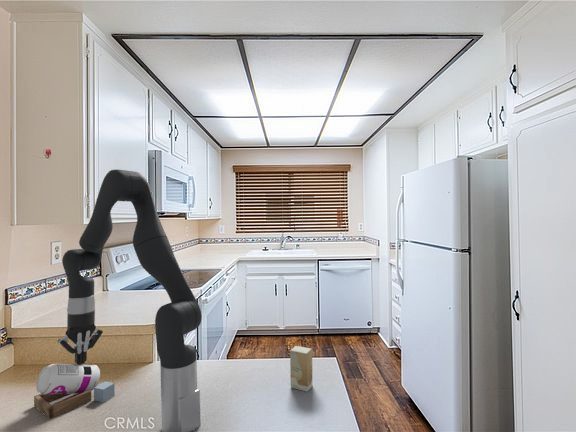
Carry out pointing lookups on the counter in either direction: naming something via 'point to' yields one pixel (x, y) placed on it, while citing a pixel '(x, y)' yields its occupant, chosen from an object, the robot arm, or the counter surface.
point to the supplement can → (67, 379)
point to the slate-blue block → (104, 391)
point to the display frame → (60, 407)
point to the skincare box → (301, 368)
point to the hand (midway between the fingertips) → (80, 363)
